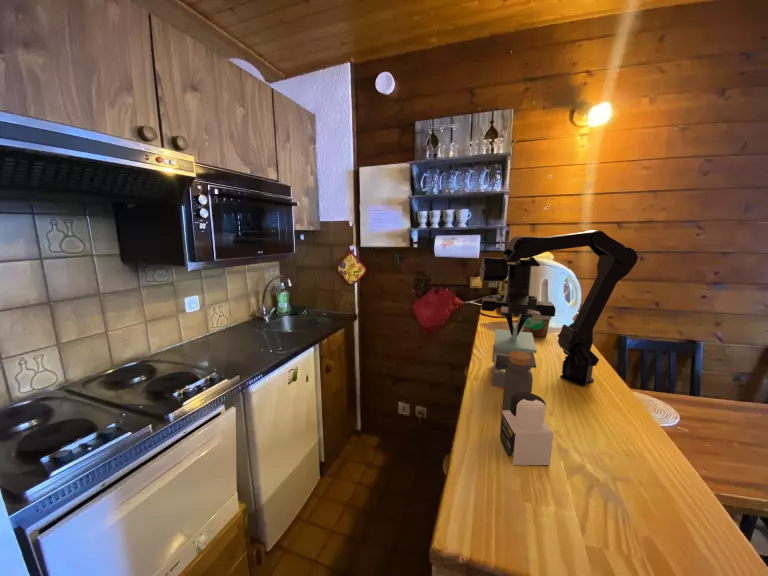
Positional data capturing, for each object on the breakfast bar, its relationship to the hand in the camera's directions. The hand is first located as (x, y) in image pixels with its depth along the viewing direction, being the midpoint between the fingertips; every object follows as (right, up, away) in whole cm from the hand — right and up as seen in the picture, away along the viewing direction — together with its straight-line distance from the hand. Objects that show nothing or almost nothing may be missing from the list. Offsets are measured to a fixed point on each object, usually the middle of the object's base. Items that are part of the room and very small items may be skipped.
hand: (514, 335), depth 90 cm
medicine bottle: (-10, -19, -28) cm, 36 cm away
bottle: (-6, -17, -16) cm, 24 cm away
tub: (0, -13, +2) cm, 13 cm away
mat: (+7, -10, +18) cm, 22 cm away
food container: (+23, -6, +38) cm, 45 cm away
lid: (0, -3, +1) cm, 3 cm away
